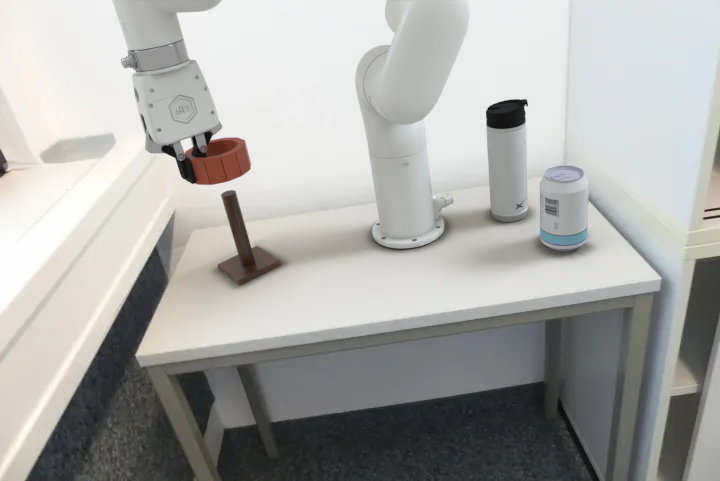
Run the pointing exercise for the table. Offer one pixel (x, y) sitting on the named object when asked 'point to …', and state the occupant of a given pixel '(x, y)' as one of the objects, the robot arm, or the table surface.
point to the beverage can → (564, 208)
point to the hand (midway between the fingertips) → (197, 178)
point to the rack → (243, 247)
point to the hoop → (221, 161)
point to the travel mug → (507, 159)
